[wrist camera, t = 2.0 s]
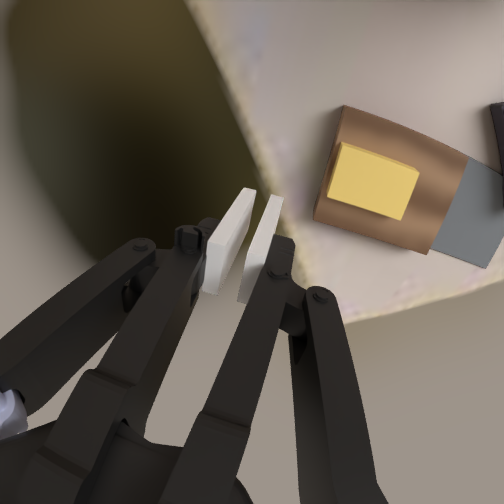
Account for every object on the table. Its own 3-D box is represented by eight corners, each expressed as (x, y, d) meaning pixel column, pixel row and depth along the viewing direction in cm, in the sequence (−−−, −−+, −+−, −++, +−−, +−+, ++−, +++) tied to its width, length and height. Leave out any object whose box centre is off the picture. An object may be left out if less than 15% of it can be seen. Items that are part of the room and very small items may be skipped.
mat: (462, 152, 29) (463, 153, 29) (523, 189, 28) (524, 190, 28) (423, 244, 37) (423, 245, 36) (485, 267, 36) (485, 268, 35)
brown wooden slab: (343, 104, 30) (346, 106, 28) (459, 151, 29) (469, 157, 26) (313, 209, 38) (312, 219, 35) (420, 243, 37) (426, 255, 34)
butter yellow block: (341, 141, 30) (342, 145, 28) (414, 167, 29) (419, 172, 27) (326, 190, 33) (327, 197, 31) (396, 213, 32) (400, 220, 31)
